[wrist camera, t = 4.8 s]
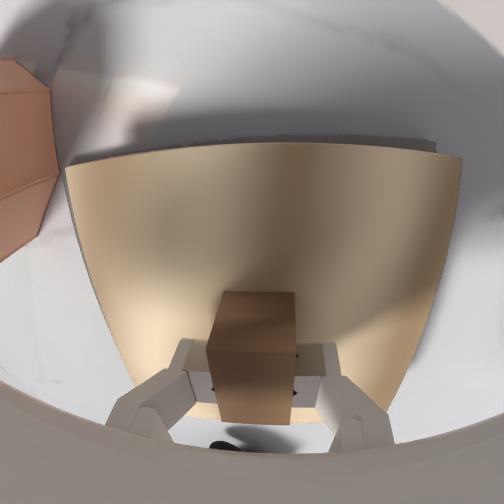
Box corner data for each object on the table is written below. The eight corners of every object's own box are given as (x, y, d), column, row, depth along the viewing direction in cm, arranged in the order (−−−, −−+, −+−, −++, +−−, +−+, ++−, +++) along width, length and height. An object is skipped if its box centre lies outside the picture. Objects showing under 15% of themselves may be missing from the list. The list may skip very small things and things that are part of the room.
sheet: (453, 155, 8) (518, 181, 5) (381, 409, 14) (392, 459, 11) (74, 164, 9) (8, 190, 6) (149, 401, 15) (131, 447, 12)
